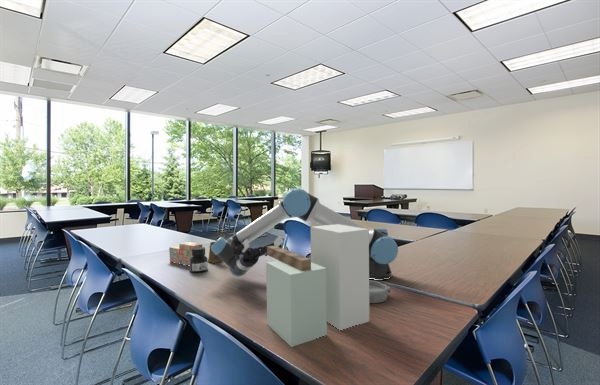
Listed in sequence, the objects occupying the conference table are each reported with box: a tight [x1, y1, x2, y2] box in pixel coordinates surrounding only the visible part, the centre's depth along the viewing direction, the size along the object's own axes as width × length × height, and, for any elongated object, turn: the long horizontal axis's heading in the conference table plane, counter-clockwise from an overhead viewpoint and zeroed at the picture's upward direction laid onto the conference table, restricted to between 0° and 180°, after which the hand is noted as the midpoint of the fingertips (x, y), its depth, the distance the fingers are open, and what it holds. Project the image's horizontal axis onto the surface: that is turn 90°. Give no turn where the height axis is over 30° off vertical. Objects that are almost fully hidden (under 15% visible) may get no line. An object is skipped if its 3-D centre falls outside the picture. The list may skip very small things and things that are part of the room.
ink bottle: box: [189, 246, 209, 274], centre depth 158 cm, size 10×9×12 cm
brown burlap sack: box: [207, 232, 226, 264], centre depth 175 cm, size 9×14×18 cm, turn 41°
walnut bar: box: [266, 245, 311, 271], centre depth 96 cm, size 24×3×3 cm, turn 31°
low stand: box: [265, 260, 328, 348], centre depth 92 cm, size 16×12×20 cm
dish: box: [369, 280, 392, 304], centre depth 118 cm, size 14×14×5 cm
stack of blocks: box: [168, 241, 203, 265], centre depth 172 cm, size 21×6×12 cm, turn 59°
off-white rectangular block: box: [310, 224, 370, 331], centre depth 100 cm, size 16×12×30 cm
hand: (265, 240), depth 110 cm, fingers open, 13 cm apart
